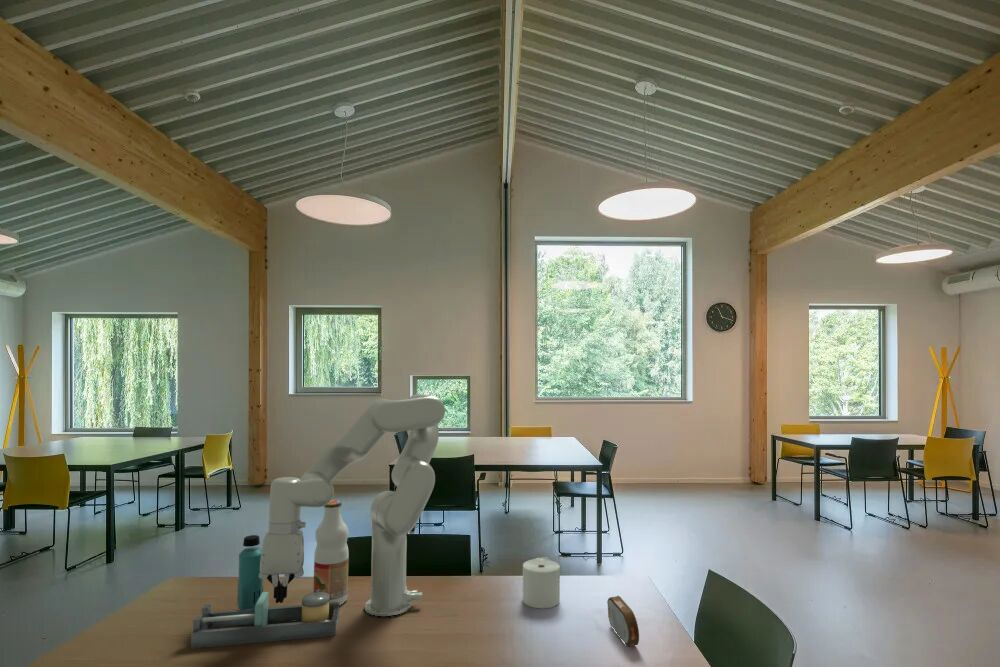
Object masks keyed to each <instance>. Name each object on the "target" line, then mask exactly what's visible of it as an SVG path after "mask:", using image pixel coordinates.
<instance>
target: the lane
mask: <svg viewBox="0 0 1000 667" xmlns="http://www.w3.org/2000/svg"><path fill="white" fill-rule="evenodd" d="M211 610H212V604H211V603H207V604H204V605H203V607H202V608H201V614H200V615H196V616H195V617H194V618H193V620H192V621H193V623H192V632H191V633H190V635H191V636H190V649H201V648H202V649H203V648H210V647H211V648H212V647H223V646H236V645H245V644H246V645H247V644H256V643H268V642H279V641H289V640H290V641H291V640H302V639H312V638H325V637H334V636H333V635H337V630H336V629H338V624H339V618H340V606H339V602H333V603H329V617H332V618H330V619H329V620H319V621H307V622H302V604H298V605H297V604H296V605H294V604H293V605H284V606H282V605H281V606H270V607H269V606H268V623H267V625H259V626H254V624H255V618H250V619H237V620H225V621H213V622H203V618H207V617H220V616H232V615H245V614H255V609H243V610H240V609H234V610H233V609H232V610H220V611H211ZM338 617H339V618H338ZM294 620H300V621H294ZM286 621H288V622H286ZM284 622H285V623H284ZM337 623H338V624H337ZM248 625H249V626H248Z"/></svg>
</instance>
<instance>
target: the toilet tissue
mask: <svg viewBox="0 0 1000 667" xmlns="http://www.w3.org/2000/svg"><path fill="white" fill-rule="evenodd" d="M560 571H561V566H560V563H558V562H556V561H554V560H551V559H550V556H543V557H542V556H541V557H536V558H533V559H529V560H527V561H525V562H523V563H522V602H523V603H524V604H525V605H526V606H529V607H531V608H535V609H550V608H553V607H557V606H558V605H560V601H561V599H560V597H561V594H560V593H561V592H560V590H561V589H560V587H561V586H560V582H561V581H560V579H561V574H560ZM556 605H557V606H556Z"/></svg>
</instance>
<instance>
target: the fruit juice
mask: <svg viewBox="0 0 1000 667" xmlns="http://www.w3.org/2000/svg"><path fill="white" fill-rule="evenodd" d="M341 508H342V501H341V500H340V499H332V500H331V501H330V502H329V503H328V504H327V505H325V506H323V509H324V513H323V518H322V521H321V522H320V524H319V525H318V526H317V528H316V530H315V535H314V536H315V541H316V547H315V548H314V555H313V557H314V558H313V592H325V593H328V594H329V595H330V599H329V603H333V602H339V605H340V606H342V605H344V604H345V603H346V602H347V601H348V597H349V596H348V595H349V594H348V592H349V547H348V544H347V542H348V537H349V527H348V526H347V524H346V523H345V522H344V520H343V517H342V514H341V513H342V512H341ZM313 592H312V593H313ZM346 600H347V601H346ZM345 601H346V602H345ZM344 602H345V603H344ZM343 603H344V604H343ZM341 604H342V605H341Z"/></svg>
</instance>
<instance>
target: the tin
mask: <svg viewBox="0 0 1000 667" xmlns="http://www.w3.org/2000/svg"><path fill="white" fill-rule="evenodd" d="M606 602H607V617H608V621H609V625H610V627H611V626H612V627H613V628H614V629H615V631H616V632H617V634H618V635H619V636H620V638H621V639H622V640H623V641H624V642H625V644H626V646H625V647H633V646H635V645H637V646H638V644H639V642H640V631H639V624H638V621H637V618H636V614H635V613H634V611H633V609H632V608H631V607H629V605H628V604H627V603H626V602H625V600H624V599H623V598H622V597H621V596H619V595H617V596H611V597H609V598H608V599H607V601H606ZM612 627H611V628H612ZM617 634H616V635H617ZM620 638H619V639H620Z"/></svg>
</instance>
